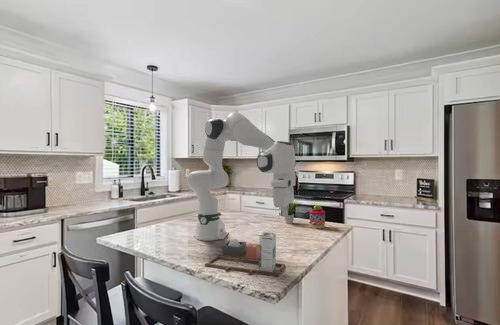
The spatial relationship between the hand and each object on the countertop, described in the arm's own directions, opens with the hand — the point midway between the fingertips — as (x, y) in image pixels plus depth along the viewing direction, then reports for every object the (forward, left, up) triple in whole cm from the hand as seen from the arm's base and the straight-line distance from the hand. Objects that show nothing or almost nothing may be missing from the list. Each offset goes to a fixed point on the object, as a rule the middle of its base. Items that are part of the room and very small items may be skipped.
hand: (285, 215), depth 113 cm
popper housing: (-14, -28, -23) cm, 39 cm away
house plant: (-86, -17, -23) cm, 90 cm away
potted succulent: (-82, +3, -23) cm, 85 cm away
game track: (0, -17, -23) cm, 28 cm away
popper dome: (-14, -28, -21) cm, 38 cm away
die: (-13, -18, -23) cm, 32 cm away
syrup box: (0, -7, -23) cm, 24 cm away
